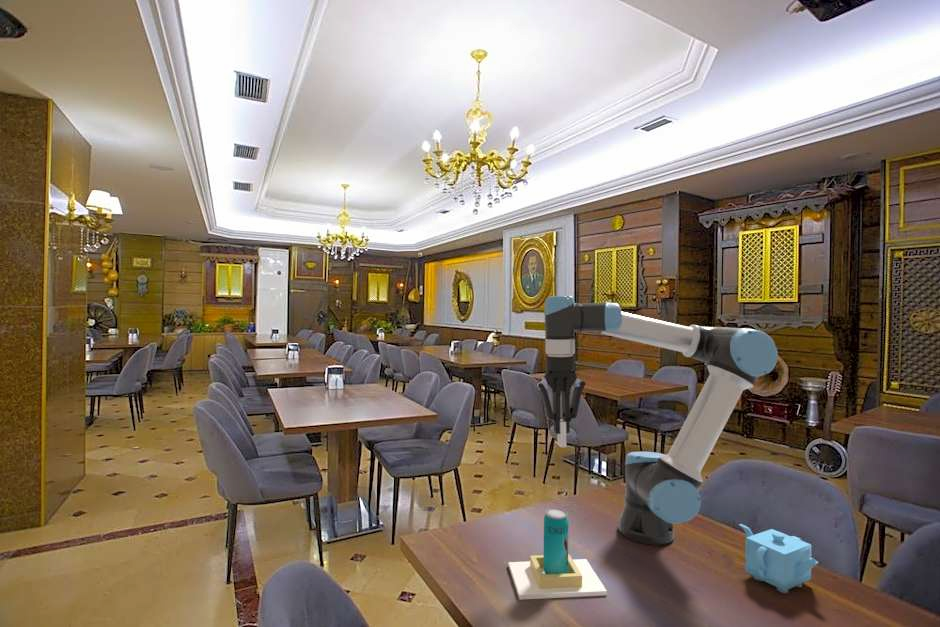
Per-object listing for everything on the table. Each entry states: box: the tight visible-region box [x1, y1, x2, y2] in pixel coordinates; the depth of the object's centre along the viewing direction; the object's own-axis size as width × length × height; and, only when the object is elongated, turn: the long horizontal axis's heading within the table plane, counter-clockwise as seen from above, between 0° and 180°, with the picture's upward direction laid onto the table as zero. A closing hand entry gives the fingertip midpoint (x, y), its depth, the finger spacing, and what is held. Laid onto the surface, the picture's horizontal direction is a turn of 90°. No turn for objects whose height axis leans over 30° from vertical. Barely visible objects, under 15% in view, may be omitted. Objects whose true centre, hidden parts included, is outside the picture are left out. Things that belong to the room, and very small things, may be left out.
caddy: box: [507, 553, 608, 601], centre depth 114 cm, size 20×14×4 cm
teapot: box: [738, 523, 819, 594], centre depth 115 cm, size 16×18×11 cm
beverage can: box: [543, 508, 570, 575], centre depth 114 cm, size 6×6×15 cm
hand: (561, 445), depth 125 cm, fingers closed
